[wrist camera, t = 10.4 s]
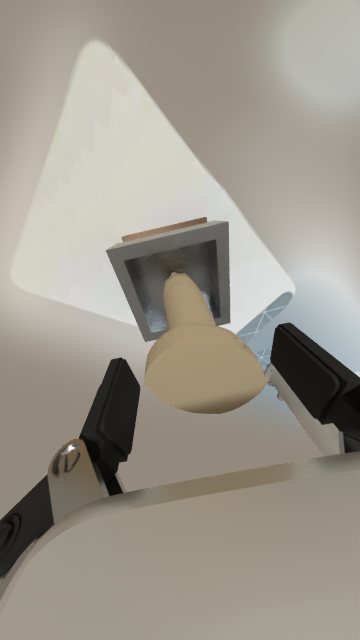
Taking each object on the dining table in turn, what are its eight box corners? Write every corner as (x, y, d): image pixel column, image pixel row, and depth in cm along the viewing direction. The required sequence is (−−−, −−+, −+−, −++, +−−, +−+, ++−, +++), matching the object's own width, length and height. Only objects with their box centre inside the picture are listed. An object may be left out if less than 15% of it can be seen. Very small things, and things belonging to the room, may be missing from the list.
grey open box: (219, 306, 24) (230, 322, 20) (147, 322, 24) (145, 341, 21) (214, 220, 18) (228, 221, 14) (117, 243, 18) (105, 250, 14)
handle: (183, 309, 22) (216, 421, 10) (145, 282, 20) (124, 389, 7) (207, 283, 21) (283, 379, 8) (169, 250, 18) (197, 316, 5)
